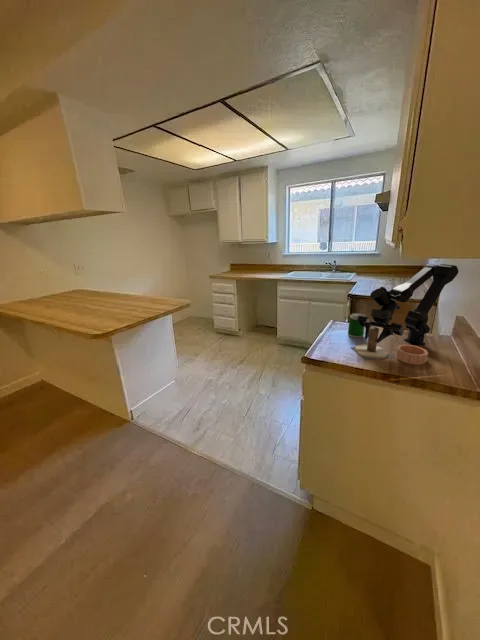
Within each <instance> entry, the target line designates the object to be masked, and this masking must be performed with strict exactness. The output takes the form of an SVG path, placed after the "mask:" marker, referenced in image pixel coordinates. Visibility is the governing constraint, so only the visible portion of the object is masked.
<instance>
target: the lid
mask: <svg viewBox="0 0 480 640" xmlns="http://www.w3.org/2000/svg"><path fill="white" fill-rule="evenodd" d="M379 332H380V327H377V326H371V327H370V330H369V337H368V338H367V344H359V345H357V346H355V347H356V348H355V351H356V352H355V351H354V352H355V353H356V354H357V355H358V354H359V356H360V355H361V356H363V357H366V358H371V359H375V360H383V358H386V357H387V354H389V353H388V351H387V350H386V349H385V348H383V347H381V346H378V343H377V340H378V338H379ZM361 356H360V357H361Z"/></svg>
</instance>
